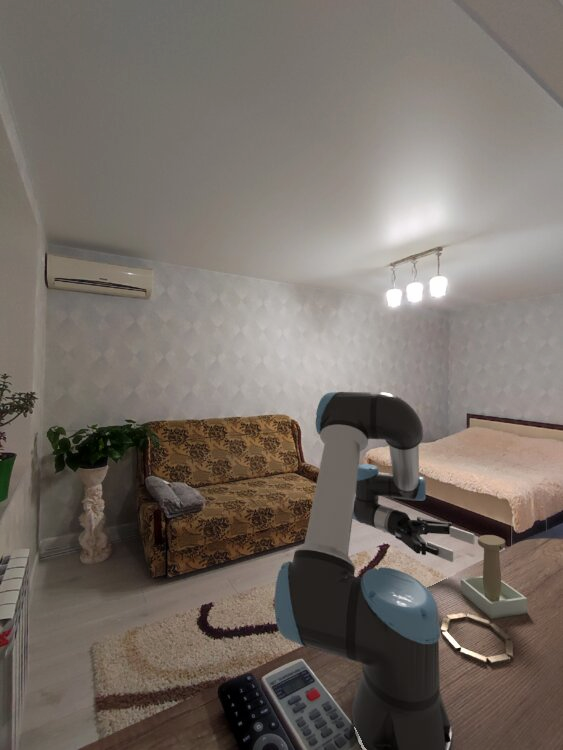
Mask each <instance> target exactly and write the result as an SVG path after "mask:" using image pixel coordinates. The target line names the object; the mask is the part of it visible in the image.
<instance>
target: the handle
mask: <svg viewBox="0 0 563 750" xmlns="http://www.w3.org/2000/svg"><path fill="white" fill-rule="evenodd" d="M477 544H478V545H479V546H480V547H481V548H483V563H482V565H483V566H482V576H483V586H484V591H485V597H486V598H487V599H488V600H489V601H491V602H494V601H499V599H500V593H501V580H502V574H501V573H502V571H501V561H500V560H501V559H500V551H502V550H503V549H504V548H505V546H506V540H505V539H504V538H502V537H500V536H497V535H494V534H484V535H481V536H479V537H478V538H477Z"/></svg>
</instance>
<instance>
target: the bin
mask: <svg viewBox="0 0 563 750" xmlns="http://www.w3.org/2000/svg"><path fill="white" fill-rule="evenodd" d="M460 593H461V594H462V595H463V596H465V597H466V598H467V599H468V600H469V601H470V602H471V603H472V604H473V605H475V606H476V607H477V608H478V609H479V610H480V611H481V612H483V613H484V614H485V615H486V616H487V617H488V618H490V619H491V620H493V619H499V618H505V617H512V616H519V615H523V614H528V598H527V597H526V596H524V595H523V594H522V593H520V592H519V591H518V590H516V589H515V588H514V587H512V586H511V585H509V584H507V583H506V582H505V581H504V580H502V579H501V593H500V599H499V601H494V602H491V601H489V600H488V599H487V598H486V597H485V591H484V586H483V575H480V576H473V577H471V576H470V577H466V578H460Z"/></svg>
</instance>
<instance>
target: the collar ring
mask: <svg viewBox="0 0 563 750" xmlns="http://www.w3.org/2000/svg"><path fill="white" fill-rule="evenodd" d="M445 616H446V617H445ZM445 616H444V617H443V619H442V622H441V627H440V634H441V636H442V638H443V639H444V640H445V641H446V642H447V643H448V645H449V646H450V647H451V648H452V649H453V650H454V651H455V653H457V652H460V656H462V657H463V658H467V659H469V660H471V661H474V662H476V663H479V664H481V665H484V666H487V663H488V664H489V665H490V667H494V666H501V665H504V664H505V665H506V664H511V661H514V645H513V644H514V642H513V641H512V639H511V637H510V636H509V635H507V633H505V632H504V631H503V630H502V629H501V628H499V627H498V625H497V624H496V623H490V620H488V619H485V618H482V617H479V616H477V615H473V614H470V613H467V615H466V614H465V613H464V612H459V613H455V614H454V613H453V614H448V615H445ZM461 621H469V622H472V623H474V624H478V625H480V626H484V627H487V628H489V629H490V630H491V631H492V632H493V633H495V634H496V635H497V637H499V638H500V639H501V640H502V641H503V642H504V643H505V653H501V654H496V655H491V656H484V655H482V654H479V653H477V652H474V651H472V650H469V649H467V648H464V647H462V646H460V644H459V643H458V642H457V641H456V640H455V638H453V636H451V634H450V633H449V632H448V631H449V627H450V623H451V624H452V623H456V622H461Z"/></svg>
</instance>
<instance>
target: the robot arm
mask: <svg viewBox="0 0 563 750" xmlns="http://www.w3.org/2000/svg"><path fill="white" fill-rule="evenodd" d="M315 415H316V417H315V429H316V432H317V434H318V435H319V437H320V440H321V442H322V443H323V444H324V445H323V451H322V454H321V461H320V465H319V469H318V474H317V475H318V476H317V480H316V485H315V490H314V495H313V500H312V505H311V511H310V513H309V514H310V515H309V520H308V525H307V530H306V534H305V539H304V543H303V545H302V546H300V547H298V548H297V549H295V551H294V554H293V557H292V558H293V559H292V561H287V562H283V563H282V564H281V566H280V569H279V570H278V574H277V577H276V583H275V590H274V591H275V592H274V614H275V623H276V626H277V629H278V631H279V633H280V634H281V636H282V637H283V638H284V639H286V640H288V641H289V642H290V641H291V642H294V643H296V644H299V645H301V646H302V647H303V648H307V647H308V648H310V649H314V650H318V651H320V652H324V653H326V654H330V655H334V656H337V657H341V658H343V659H347V660H351V661H354V662H358V663H361V664H362V673H361V676H360V678H359V682H358V685H357V687H356V691H355V693H354V694H353V695H354V696H353V701H352V709H351V711H352V726H353V725H354V727H355V728H356V730H357V732H358V734H359V736H360V738H361V740H362V743H363V745H364V747H365V748H366V749H367V750H454V737H453V736H454V735H453V730H452V725H451V722H450V718H449V715H448V712H447V709H446V706H445V703H444V701H443V697H442V694H441V692H440V689H441V687H440V685H441V683H440V652H439V651H440V648H439V647H440V645H439V640H440V638H441V627H440V623H439V610H438V605H437V602H436V600H435V597H434V596H433V594H432V593H431V591H430V590H429V589H428V588H427V587H426V586H425V585H424V584H422V583H421V581H419V580H418V579H417V578H416V577H413V576H412V575H410V574H408V573H406V572H404V571H401V570H398V569H394V568H390V567H379V568H376V567H374V568H370V569H368V570H367V571H366V572H364V573H363V575H362V577H358V576H355V573H356V571H355V570H356V566H355V564H354V563H353V561H352V560H351V558H350V557H349V551H350V542H351V536H352V535H351V533H352V526H353V520H355V521H356V522H359V523H360V524H363V525H366V526H370V527H372V528H375V529H377V530H380V531H382V532H383V533H385V534H386V533H387V534H389V535H391V536H394V538H396V540H399V541H401V542H402V543H403V544H405V546H406V547H408V548H409V549H411V551H413V552H415V553H416V554H421V555H422V556H426V555H427V553H428V554H431V555H433V556H435V557H439V558H440V559H443V560H447V561H449V562H451V563H453V562H454V550H453V549H450V548H447V547H445V546H443V545H440V544H437V543H434V542H432V541H427V542H426V541H425V540H424V538H423V537H422V536H423V535H425V536H426V535H428V534H438V535H449V537H451V538H454V539H456V540H459V541H462V542H465V543H468V544H471V545H475V540H476V539H475V533H472V532H469V531H468V530H467V531H466V530H463V529H461V528H460V529H459V528H458V527H455V526H453V523H452V522H451V521H442V520H436V519H430V518H425V517H424V518H423V517H420V516H417V517H416V519H411V518H410V517H409V515H408V514H407V513H406V512H403V511H401V510H398V509H394V508H392V507H390V506H386V505H383V504H380V503H379V501H380V500H379V497H383V498H384V497H386V498H393V499H400V500H408V501H412V502H413V501H419V502H420V501H421V502H422V501H425V500H426V497H427V496H426V494H427V493H426V491H427V489H426V488H427V487H426V479H425V477H424V476H420V463H419V462H420V457H419V456H420V454H419V452H420V449H419V445H420V444H421V443H422V442H423V437H424V436H423V435H424V430H423V424H422V420H421V419H420V417H419V415H418V413H417V412H416V411H415V410H414V408H413V407H412V406H411V405H410V404H409V403H407V402H406V401H405V400H404V399H402V398H401V397H399V396H398V395H395V394H392V393H388V392H384V391H383V392H381V391H379V392H371V391H370V392H368V391H367V392H365V391H364V392H363V391H360V392H358V391H355V392H352V391H341V390H340V391H335V392H333V391H332V392H327V393H325V394H324V395H323V396H322V397H321V399H320V400H319V403H318V405H317V408H316V413H315ZM369 440H384V441H385V442H386V443H387V445H388V448H389V455H390V456H389V457H390V464H391V471H392V473H390V472H380V471H379V467H378V466H377V465H374V464H371V463H363V464H360V459H361V458H360V457H361V452H362V451H363V450H365V449H366V448H367V446H369V445H368V444H369ZM421 535H422V536H421Z"/></svg>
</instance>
